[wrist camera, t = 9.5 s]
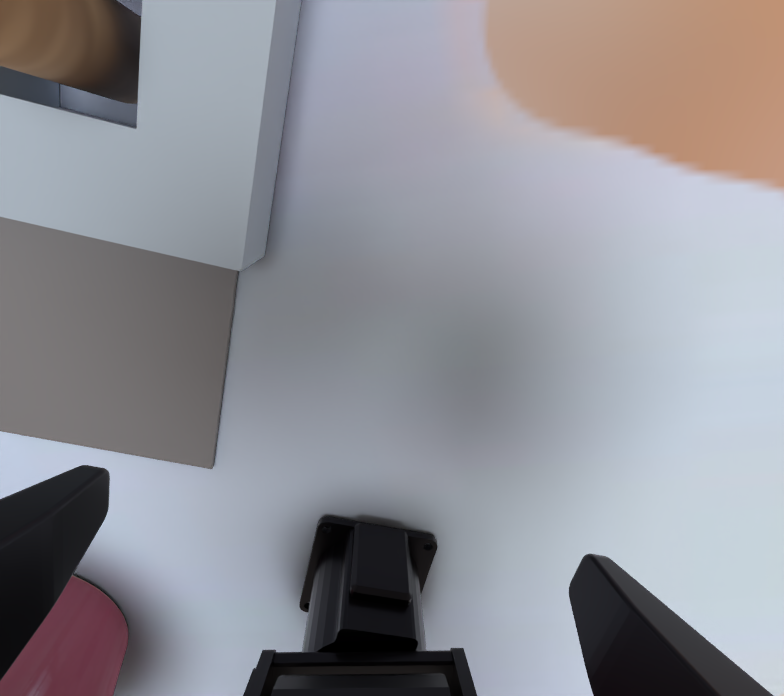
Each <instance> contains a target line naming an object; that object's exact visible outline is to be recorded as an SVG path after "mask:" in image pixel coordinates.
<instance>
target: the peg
mask: <svg viewBox="0 0 784 696" xmlns="http://www.w3.org/2000/svg"><path fill="white" fill-rule="evenodd" d="M140 37H141V17H140V16H138V15H137V14H135V13H134V12H132V11H131V10H129V9H128V8H127V7H125V6H124V5H122V4H121V3H119V2H118V1H116V0H0V66H3V67H6V68H9V69H13V70H16V71H19V72H23V73H26V74H29V75H33V76H36V77H39V78H43V79H46V80H50V81H53V82H56V83H60V84H63V85H66V86H70V87H73V88H76V89H80V90H83V91H87V92H90V93H93V94H97V95H100V96H103V97H107V98H110V99H113V100H117V101H120V102H124V103H130V104H136V103H138V82H139V59H140Z"/></svg>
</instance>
